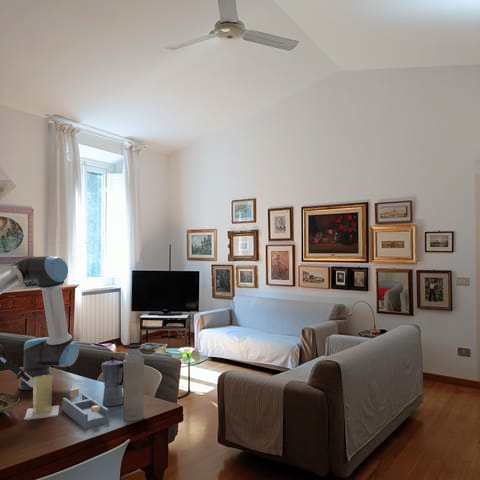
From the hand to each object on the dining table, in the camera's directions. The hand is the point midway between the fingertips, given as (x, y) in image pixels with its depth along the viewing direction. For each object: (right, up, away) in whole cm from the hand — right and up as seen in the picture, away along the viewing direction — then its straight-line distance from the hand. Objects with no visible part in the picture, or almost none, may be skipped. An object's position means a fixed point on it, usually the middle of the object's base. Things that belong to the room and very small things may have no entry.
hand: (29, 380), depth 171 cm
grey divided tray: (+22, -14, -1) cm, 26 cm away
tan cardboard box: (+4, -14, +3) cm, 14 cm away
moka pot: (+30, -15, +14) cm, 36 cm away
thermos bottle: (+42, -14, -2) cm, 44 cm away
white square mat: (+4, -14, +3) cm, 15 cm away
